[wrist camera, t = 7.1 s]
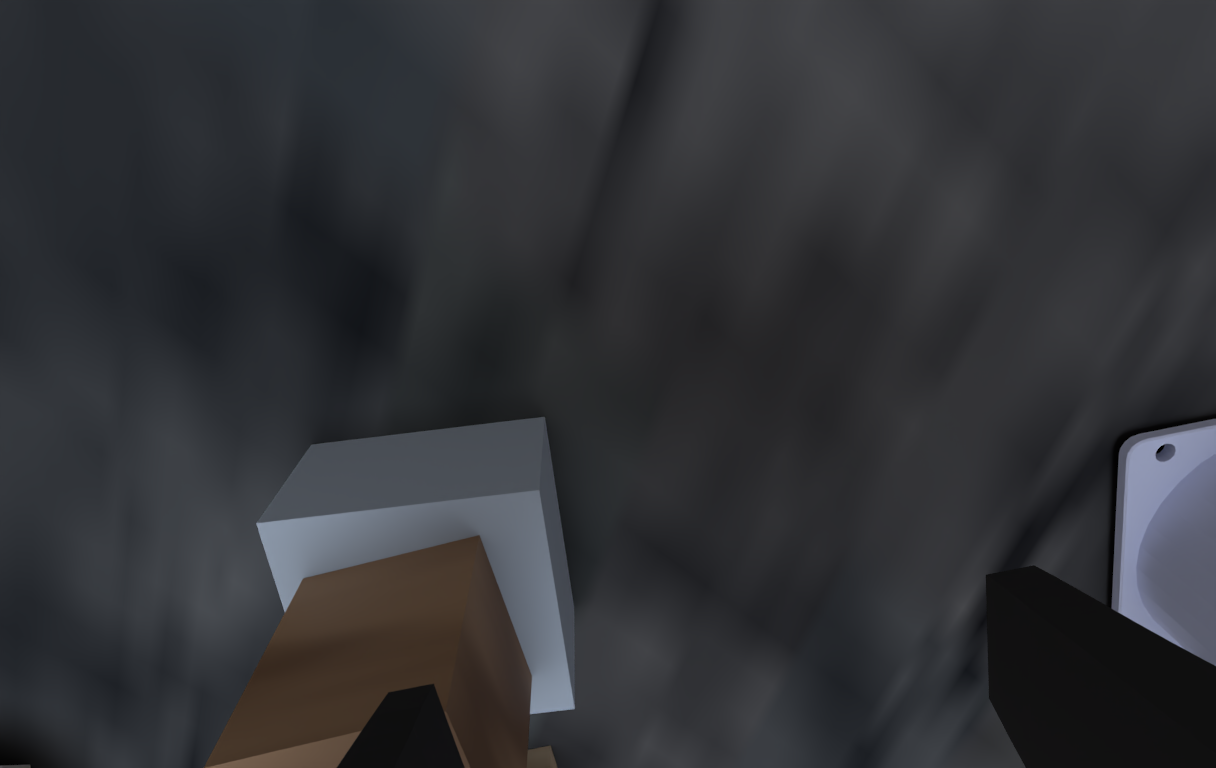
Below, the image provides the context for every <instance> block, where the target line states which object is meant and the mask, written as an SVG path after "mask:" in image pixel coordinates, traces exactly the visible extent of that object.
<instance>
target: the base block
mask: <svg viewBox="0 0 1216 768" xmlns="http://www.w3.org/2000/svg"><path fill="white" fill-rule="evenodd" d="M256 524H257V527H258V530H259V534H260V537H261V540H262V543H263V546H264V549H265V552H266V555H267V558H268V561H269V565H270V568H271V571H272V574H273V577H274V580H275V583H276V586H277V589H278V592H279V596H280V599H281V602H282V605H283V608H284V611H285V612H286V610H287V608H288V606H289V604H290V602H291V600H292V599H293V597H294V595H295V593H296V591H297V589H298V587H299V585H300V583H301V581H302V579H303V578H307V577H311V576H315V575H319V574H324V573H328V572H332V571H336V570H340V569H344V568H348V567H352V566H356V565H360V564H364V563H368V562H372V561H376V560H380V559H384V558H388V557H392V556H396V555H400V554H404V553H408V552H412V551H417V550H421V549H425V548H429V547H433V546H437V545H441V544H445V543H449V542H453V541H457V540H461V539H466V538H470V537H474V536H478V535H480V538H481V541H482V543H483V546H484V549H485V551H486V554H487V557H488V559H489V562H490V565H491V567H492V570H493V573H494V575H495V578H496V581H497V584H498V586H499V589H500V592H501V594H502V597H503V600H504V602H505V605H506V608H507V610H508V613H509V616H510V618H511V621H512V624H513V626H514V629H515V632H516V635H517V637H518V640H519V643H520V645H521V648H522V651H523V653H524V656H525V659H526V661H527V664H528V667H529V669H530V672H531V675H532V687H531V703H530V714H535V713H544V712H552V711H561V710H569V709H575V646H574V603H573V597H572V590H571V584H570V577H569V571H568V564H567V557H566V551H565V544H564V538H563V531H562V525H561V518H560V512H559V505H558V499H557V492H556V486H555V479H554V473H553V466H552V460H551V453H550V447H549V440H548V434H547V427H546V420H545V417H538V418H530V419H521V420H513V421H504V422H496V423H488V424H479V425H471V426H463V427H454V428H446V429H438V430H429V431H421V432H413V433H404V434H396V435H387V436H379V437H371V438H362V439H354V440H346V441H337V442H329V443H321V444H312V445H311V446H310V447H309V449H308V450H307V452H306V453H305V454H304V456H303V457H302V459H301V460H300V462H299V463H298V464H297V466H296V467H295V469H294V470H293V472H292V473H291V474H290V476H289V477H288V479H287V480H286V482H285V483H284V484H283V486H282V487H281V489H280V490H279V492H278V493H277V494H276V496H275V497H274V499H273V500H272V502H271V503H270V504H269V506H268V507H267V509H266V510H265V512H264V513H263V514H262V516H261V517H260V519H259V520H258V522H257V523H256Z"/></svg>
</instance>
